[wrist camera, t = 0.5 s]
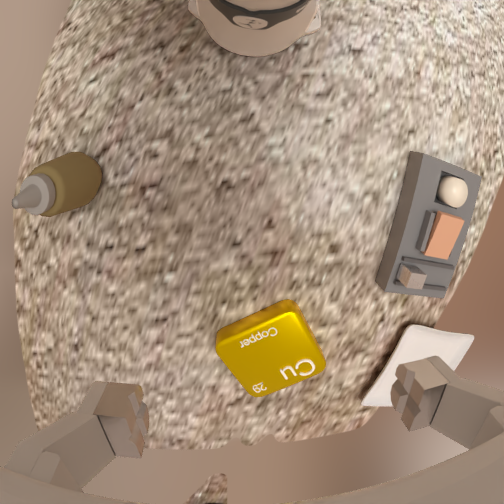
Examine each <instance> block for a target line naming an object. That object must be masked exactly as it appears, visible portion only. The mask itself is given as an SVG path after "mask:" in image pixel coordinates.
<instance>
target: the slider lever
mask: <svg viewBox="0 0 504 504" xmlns="http://www.w3.org/2000/svg"><path fill="white" fill-rule="evenodd" d="M426 277H427V275H426V274H425V273H424V272H423V271H422V270H421V269H420V268H418V267H417V266H416V265H410V264H404V263H401V265H400V268H399V271H398V273H397V276H396V278H397V279H398V280H399V281H400V282H401V283H402V284H403V285H404V286H405V287H406V288H413V289H421V290H422V288H423V285H424V282H425V280H426Z"/></svg>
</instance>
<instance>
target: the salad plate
mask: <svg viewBox="0 0 504 504" xmlns="http://www.w3.org/2000/svg"><path fill="white" fill-rule="evenodd" d="M473 340H474V336H473V335H471V334H464V333H455V332H448V331H442V330H437V329H433V328H429V327H426V326H422V325H415V324H411V325H409V326H408V327H406V329H405V330H404V332H403V334H402V336H401V338H400V340H399V342H398V344H397V346H396V348H395V349H394V351H393V353H392V355H391V356H390V358H389V360H388V361H387V363H386V365H385V366H384V368H383V370H382V371H381V373H380V374H379V376H378V377H377V379H376V380H375V382H374V383H373V384H372V386H371V387H370V388H369V390H368V391H367V393H366V394H365V396H364V397H363V399H362V402H361V405H363V406H393V405H392V402H391V395H390V392H391V388H392V385H393V384H394V382H395V381H396V380H397V377H396V376H395V372H396V369H397V367H398V365H399V364H404V363H408V362H413V361H417V360H421V359H424V358H428V357H431V356H435V355H436V356H439V357H440V358H441V359H442V360H443V361H444V362H445V363H446V364H447V365H448V366H449V367H450V368H451V369H452V370H453V371H454V370H455V369H456V367H457V366H458V364H459V363H460V361H461V360H462V358H463V357H464V355H465V353H466V352H467V350H468V349H469V347H470V345H471V343H472V342H473Z"/></svg>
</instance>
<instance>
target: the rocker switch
mask: <svg viewBox="0 0 504 504" xmlns="http://www.w3.org/2000/svg"><path fill="white" fill-rule="evenodd" d="M463 224H464V220H463V219H462V218H461V217H458V216H454V215H451V214H448V213H444V212H441V211H438V212H437V215H436V217H435V220H434V222H433V225H432V228H431V232H430V235H429V238H428V241H427V244H426V248H425V251H421V252H422V253H423V254H424V255H426V256H431V257H436V258H441V259H446V260H447V259H448V257H449V255H450V253H451V251H452V249H453V246H454V244H455V242H456V240H457V238H458V235H459V233H460V231H461V228H462V226H463Z"/></svg>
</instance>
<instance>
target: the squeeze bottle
mask: <svg viewBox="0 0 504 504" xmlns="http://www.w3.org/2000/svg"><path fill="white" fill-rule="evenodd" d="M101 181H102V172H101V169H100V166H99V165H98V163H97V162H96V161H95V160H94V159H92V158H91V157H89V156H87V155H85V154H84V153H82V152H70V153H68V154H65V155H63V156H60V157H58V158H56V159H53V160H51V161H48V162H46V163H44V164H42V165H40V166H38V167H36V168H34V170H33V171H32V172H31V174H30V175H29V177H27V178H26V179H25V180H24V181H23V183H22V185H21V189H20V193H19V194H18V195H17V196H15V197H14V198H13V199H12V206H13V208H15V209H19V208H25V210H26V211H27V212H29V213H30V214H32V215H39V214H40V215H41V216H46V217H51V216H54V215H57V214H60V213H63V212H66V211H69V210H73V209H76V208H79V207H81V206H84V205H87V204H88V203H89V202H90V201H91V200H92V199H93V198H94V197H95V195H96V193H97V191H98V188H99V186H100V184H101Z"/></svg>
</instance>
